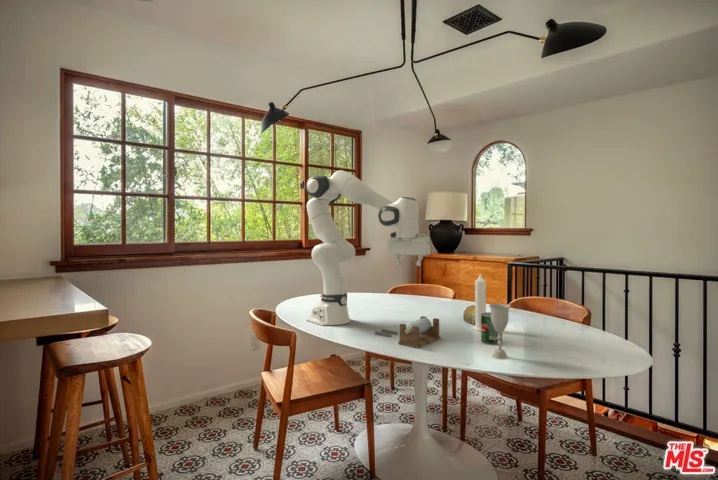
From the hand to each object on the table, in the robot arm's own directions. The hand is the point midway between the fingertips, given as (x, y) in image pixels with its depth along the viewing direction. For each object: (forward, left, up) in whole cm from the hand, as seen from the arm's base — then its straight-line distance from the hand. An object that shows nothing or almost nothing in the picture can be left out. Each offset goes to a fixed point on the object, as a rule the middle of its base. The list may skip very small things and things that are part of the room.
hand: (409, 265), depth 174 cm
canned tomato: (+35, +5, -29) cm, 46 cm away
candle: (+24, +20, -29) cm, 43 cm away
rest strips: (-5, -11, -29) cm, 32 cm away
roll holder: (+12, -11, -29) cm, 33 cm away
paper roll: (+11, -11, -24) cm, 28 cm away
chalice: (+44, -10, -29) cm, 54 cm away
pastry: (+17, +32, -30) cm, 47 cm away
